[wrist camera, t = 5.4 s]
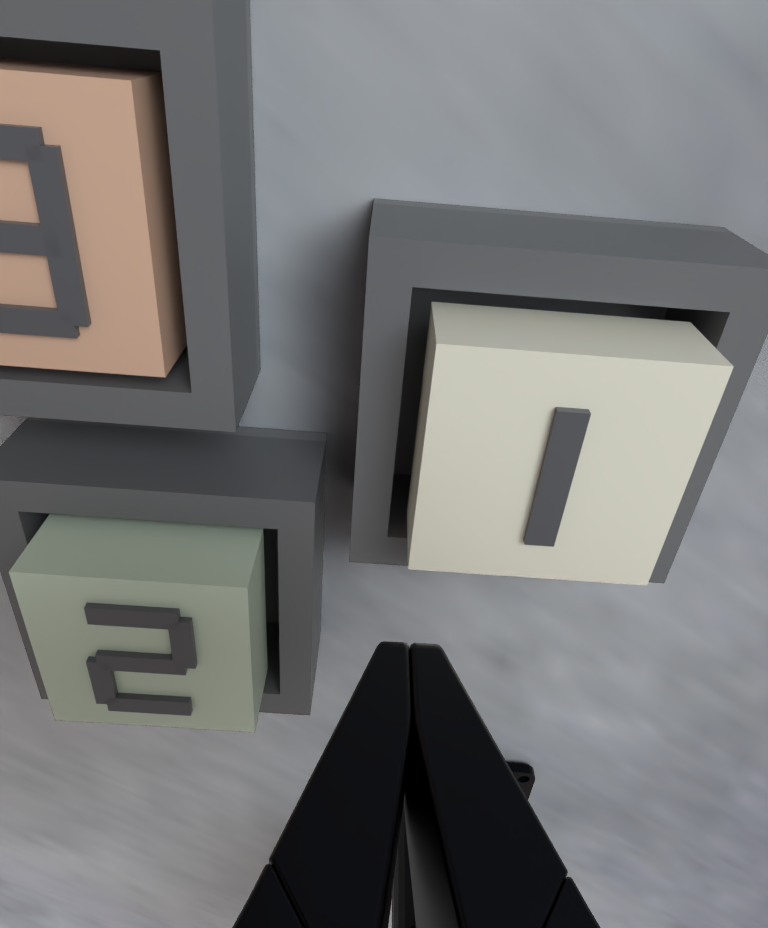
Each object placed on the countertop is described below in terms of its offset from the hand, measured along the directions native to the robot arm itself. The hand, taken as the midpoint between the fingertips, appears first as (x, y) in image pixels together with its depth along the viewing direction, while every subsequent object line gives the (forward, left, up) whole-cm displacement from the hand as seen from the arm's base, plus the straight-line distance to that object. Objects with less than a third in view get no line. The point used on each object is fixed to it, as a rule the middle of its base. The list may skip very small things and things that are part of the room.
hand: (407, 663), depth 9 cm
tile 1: (-1, -3, -9) cm, 9 cm away
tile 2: (-8, +7, -9) cm, 13 cm away
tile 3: (+3, +9, -10) cm, 14 cm away
